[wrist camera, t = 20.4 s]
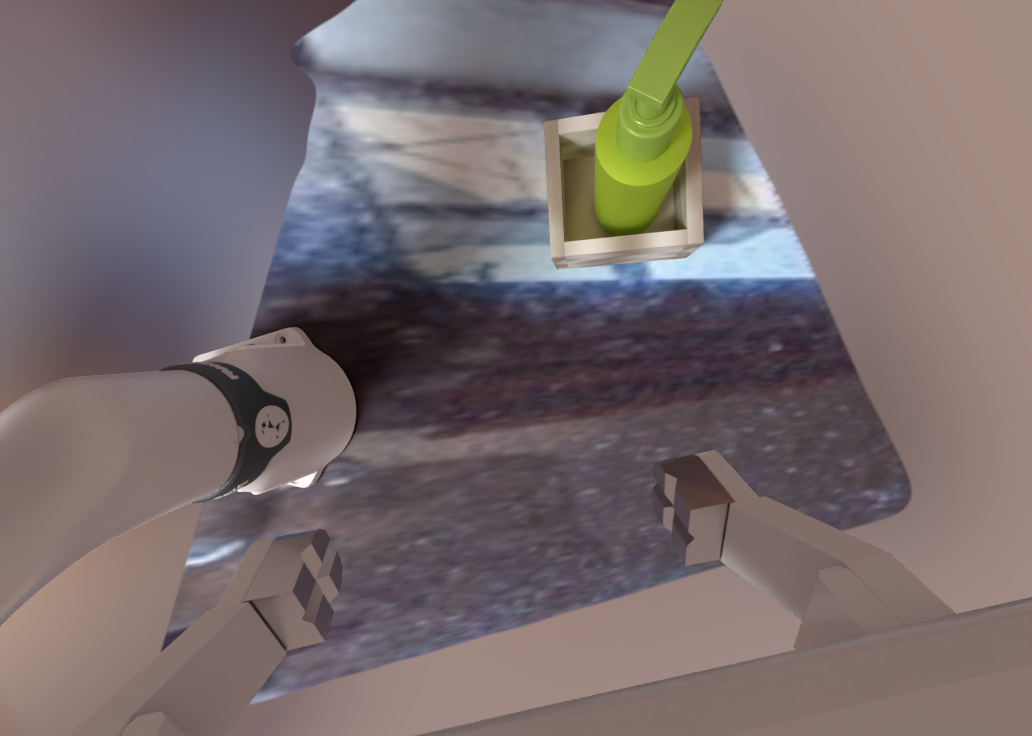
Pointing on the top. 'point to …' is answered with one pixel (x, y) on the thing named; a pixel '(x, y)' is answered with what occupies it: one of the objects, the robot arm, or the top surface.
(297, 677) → the top surface
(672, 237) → the box
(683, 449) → the top surface
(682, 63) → the soap dispenser
